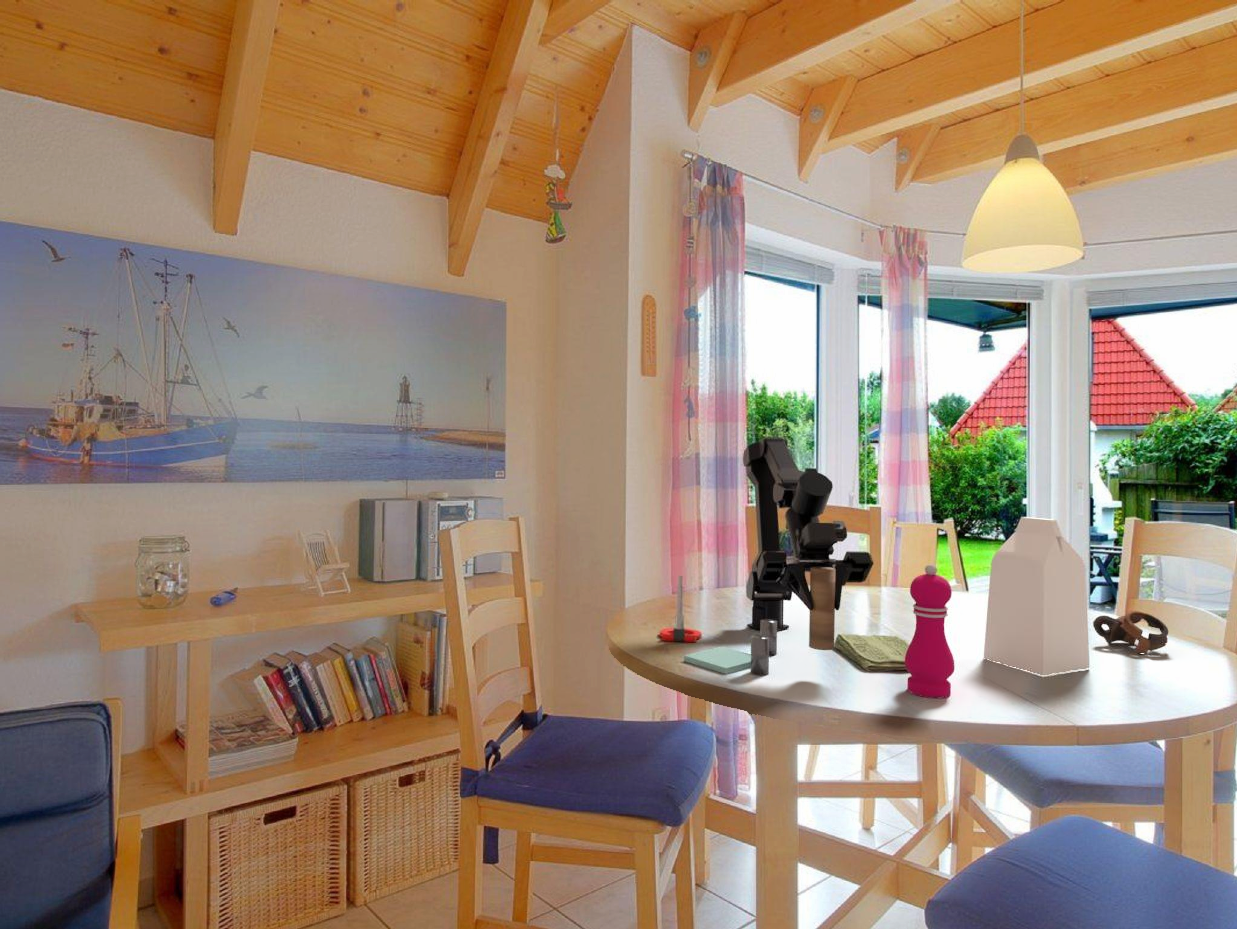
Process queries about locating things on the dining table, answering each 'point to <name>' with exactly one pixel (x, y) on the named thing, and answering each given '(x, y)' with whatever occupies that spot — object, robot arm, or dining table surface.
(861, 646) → the washcloth
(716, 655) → the teal pad
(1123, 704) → the dining table surface
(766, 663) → the post near pad
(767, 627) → the post farther from pad
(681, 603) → the tow hook
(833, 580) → the walnut dowel
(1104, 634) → the brown ring bracket
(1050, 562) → the milk
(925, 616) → the pepper mill
